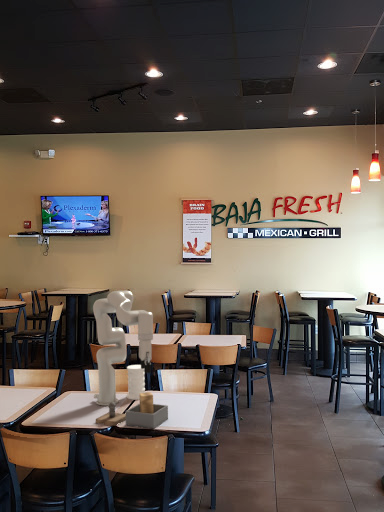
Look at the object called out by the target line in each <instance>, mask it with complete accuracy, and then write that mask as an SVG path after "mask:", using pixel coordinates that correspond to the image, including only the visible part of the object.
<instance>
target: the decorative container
mask: <svg viewBox="0 0 384 512" xmlns="http://www.w3.org/2000/svg"><path fill="white" fill-rule="evenodd" d="M126 370H127V383H128V384H127V387H128V389H127V391H128V394H127V395H126V399H128V400H131V401H134V400H135V401H137V399H139V400H140V393H145V391H146V388H145V385H146V383H145V380H146V379H145V374H146V373H145V372H144V369H141V364H131V365H128V366H126Z"/></svg>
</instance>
